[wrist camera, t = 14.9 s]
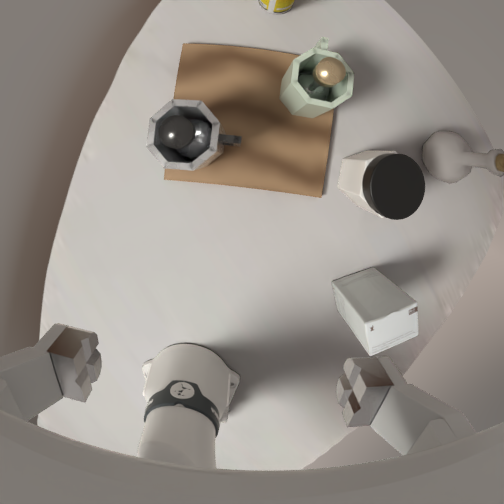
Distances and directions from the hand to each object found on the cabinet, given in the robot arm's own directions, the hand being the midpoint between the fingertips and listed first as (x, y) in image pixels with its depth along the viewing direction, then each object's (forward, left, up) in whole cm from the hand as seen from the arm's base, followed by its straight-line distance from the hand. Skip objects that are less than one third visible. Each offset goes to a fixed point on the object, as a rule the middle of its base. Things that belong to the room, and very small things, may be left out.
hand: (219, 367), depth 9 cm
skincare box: (-12, -22, -37) cm, 45 cm away
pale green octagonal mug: (+18, -8, -36) cm, 41 cm away
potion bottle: (+13, -33, -37) cm, 51 cm away
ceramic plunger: (+17, -8, -33) cm, 38 cm away
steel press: (+8, +5, -36) cm, 37 cm away
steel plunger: (+8, +6, -30) cm, 32 cm away
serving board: (+12, -1, -37) cm, 39 cm away
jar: (+6, -19, -37) cm, 42 cm away
